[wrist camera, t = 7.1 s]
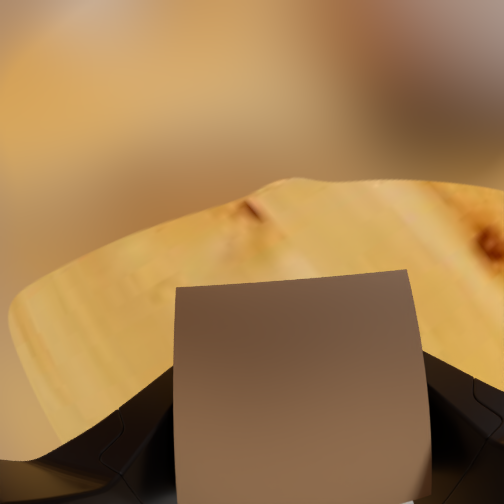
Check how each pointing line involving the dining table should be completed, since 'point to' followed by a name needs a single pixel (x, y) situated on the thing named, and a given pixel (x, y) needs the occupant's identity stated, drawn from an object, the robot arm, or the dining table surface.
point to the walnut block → (301, 393)
